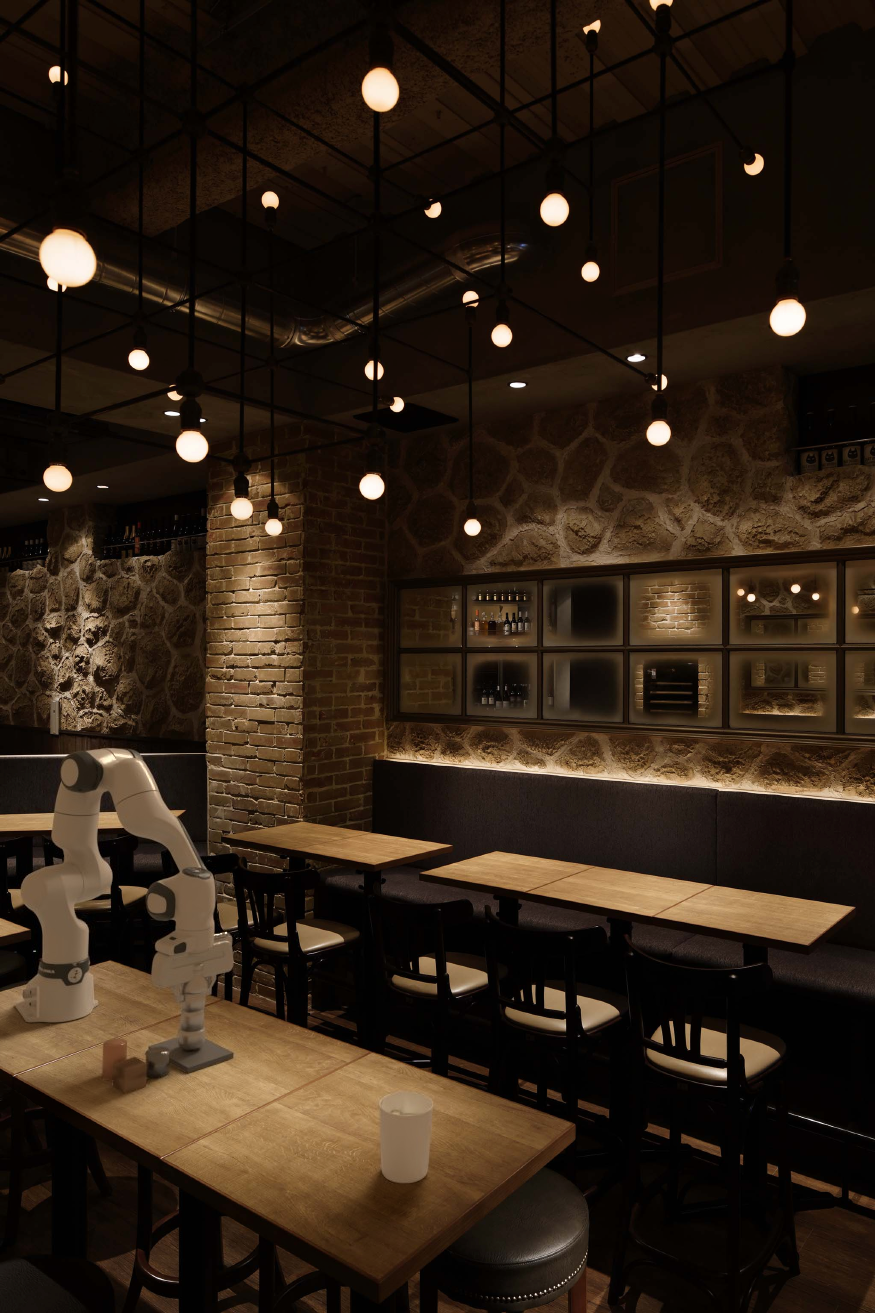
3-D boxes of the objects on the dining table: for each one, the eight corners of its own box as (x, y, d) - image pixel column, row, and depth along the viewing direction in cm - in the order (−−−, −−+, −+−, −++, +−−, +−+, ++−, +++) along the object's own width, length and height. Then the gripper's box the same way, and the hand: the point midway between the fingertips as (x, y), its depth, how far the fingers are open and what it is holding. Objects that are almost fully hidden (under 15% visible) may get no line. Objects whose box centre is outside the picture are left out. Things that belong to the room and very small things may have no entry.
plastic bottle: (209, 1042, 212) (213, 959, 211) (199, 1055, 205) (203, 969, 205) (182, 1040, 212) (187, 957, 212) (172, 1053, 205) (176, 966, 205)
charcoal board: (148, 1051, 209) (148, 1046, 209) (192, 1037, 218) (193, 1032, 218) (188, 1073, 198) (188, 1068, 198) (233, 1057, 206) (233, 1052, 207)
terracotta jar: (98, 1075, 196) (99, 1043, 196) (119, 1068, 199) (120, 1037, 200) (108, 1082, 192) (109, 1049, 192) (130, 1075, 196) (131, 1043, 196)
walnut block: (112, 1087, 190) (113, 1063, 190) (133, 1080, 194) (134, 1056, 194) (124, 1094, 187) (125, 1070, 187) (145, 1087, 191) (146, 1063, 191)
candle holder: (376, 1157, 164) (378, 1091, 164) (429, 1156, 165) (431, 1090, 165) (377, 1187, 154) (379, 1116, 155) (433, 1186, 155) (435, 1115, 155)
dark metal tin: (141, 1073, 197) (142, 1050, 197) (162, 1067, 200) (163, 1045, 201) (151, 1081, 193) (151, 1058, 194) (172, 1075, 197) (173, 1052, 197)
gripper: (224, 928, 219) (222, 985, 218) (148, 944, 204) (146, 1005, 203) (239, 933, 214) (237, 991, 214) (163, 950, 199) (161, 1012, 199)
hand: (192, 998), depth 208 cm, fingers closed on plastic bottle, 6 cm apart
